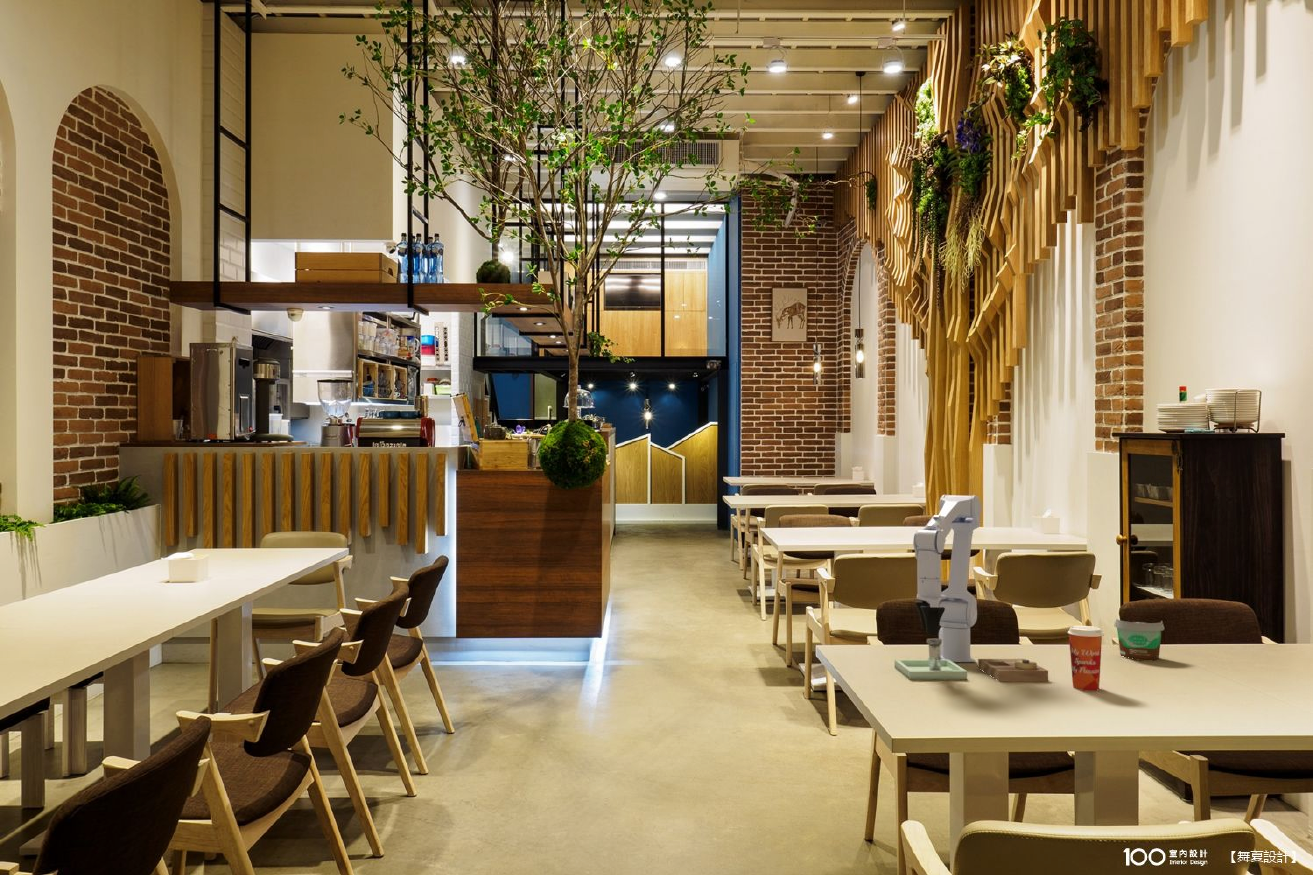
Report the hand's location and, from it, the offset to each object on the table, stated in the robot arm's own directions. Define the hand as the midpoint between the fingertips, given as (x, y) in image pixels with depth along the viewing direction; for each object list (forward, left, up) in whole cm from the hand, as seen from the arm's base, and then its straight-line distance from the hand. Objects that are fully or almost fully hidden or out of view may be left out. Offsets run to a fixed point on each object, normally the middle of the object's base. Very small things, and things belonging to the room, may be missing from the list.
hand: (929, 632), depth 242 cm
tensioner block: (+2, +20, -10) cm, 23 cm away
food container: (-16, +62, -10) cm, 65 cm away
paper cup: (+16, +32, -10) cm, 37 cm away
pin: (0, +1, -10) cm, 10 cm away
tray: (0, 0, -10) cm, 10 cm away
